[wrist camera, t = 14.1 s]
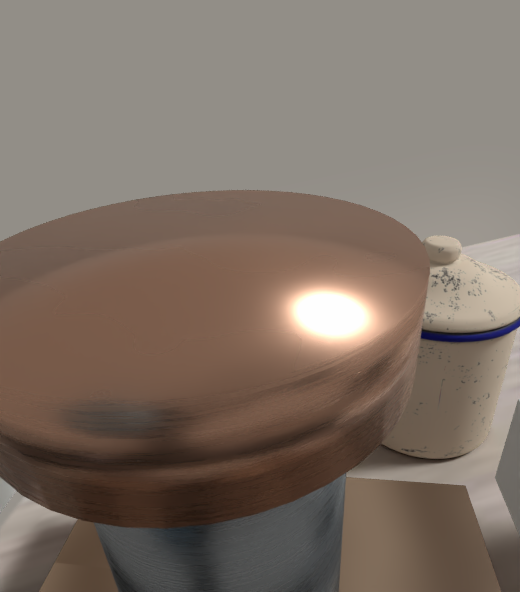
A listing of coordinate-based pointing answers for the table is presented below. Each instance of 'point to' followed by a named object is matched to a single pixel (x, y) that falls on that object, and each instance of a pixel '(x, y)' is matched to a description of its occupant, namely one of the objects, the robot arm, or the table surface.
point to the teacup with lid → (458, 355)
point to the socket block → (352, 544)
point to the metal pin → (207, 378)
